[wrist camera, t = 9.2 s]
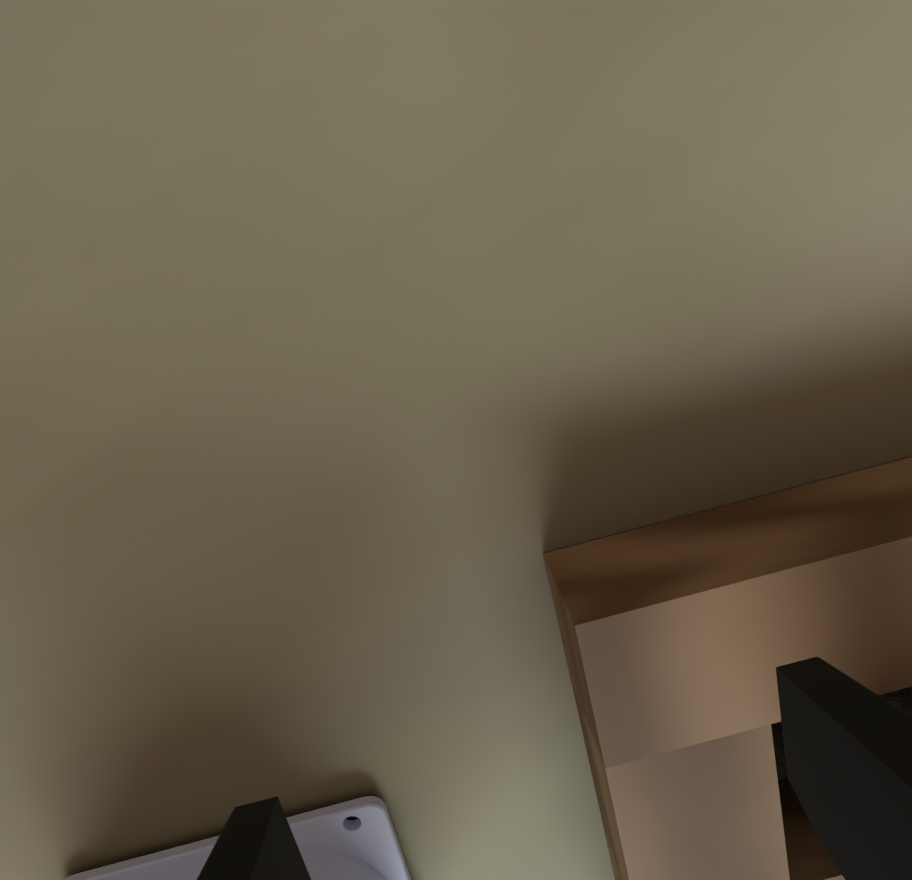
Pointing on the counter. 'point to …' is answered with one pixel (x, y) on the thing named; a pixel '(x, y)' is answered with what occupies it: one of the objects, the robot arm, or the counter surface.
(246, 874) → the robot arm
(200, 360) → the counter surface
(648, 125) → the counter surface
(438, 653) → the counter surface
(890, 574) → the bead block
